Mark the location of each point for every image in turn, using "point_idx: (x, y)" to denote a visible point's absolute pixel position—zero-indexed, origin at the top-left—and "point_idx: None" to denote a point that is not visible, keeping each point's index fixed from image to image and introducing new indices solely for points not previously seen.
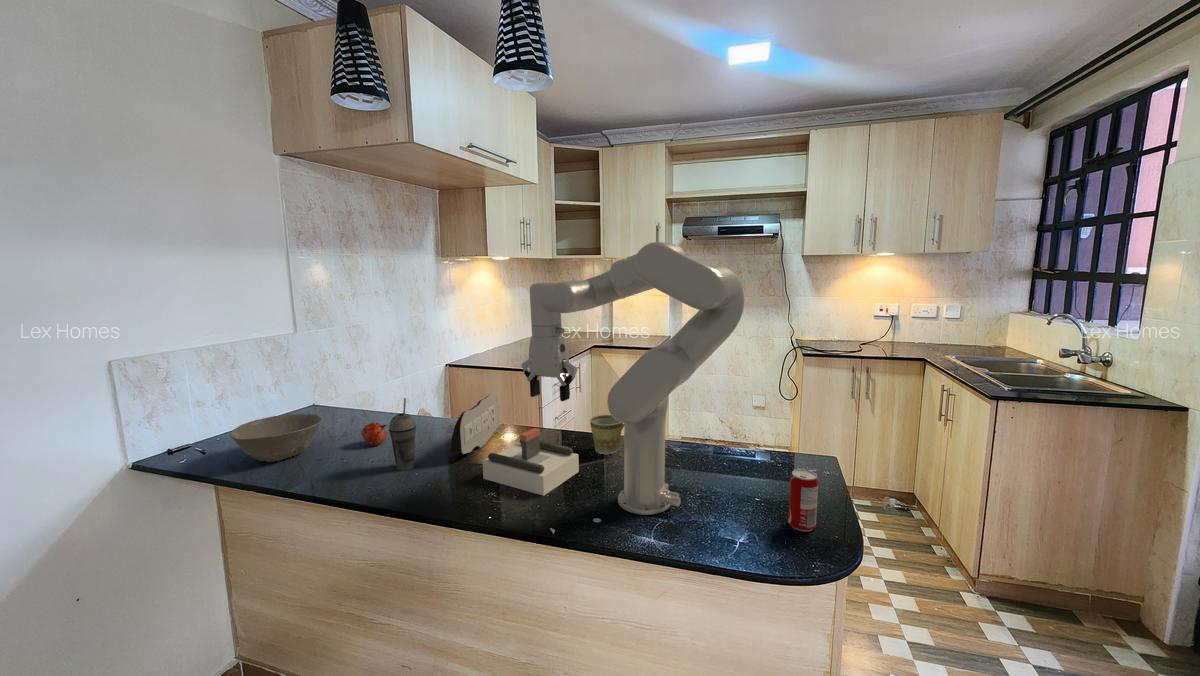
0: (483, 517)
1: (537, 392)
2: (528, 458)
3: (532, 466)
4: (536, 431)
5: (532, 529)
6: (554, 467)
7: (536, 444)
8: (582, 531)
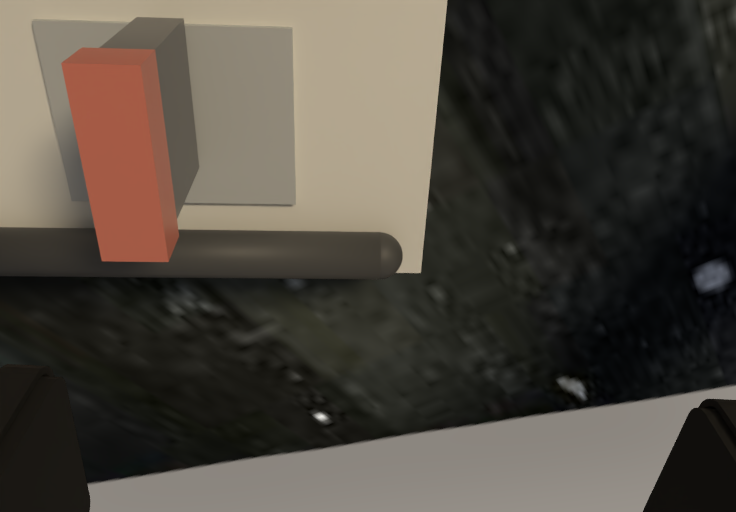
0: (301, 426)
1: (54, 461)
2: (196, 151)
3: (336, 278)
4: (150, 123)
5: (505, 409)
6: (415, 153)
7: (172, 80)
8: (677, 353)
